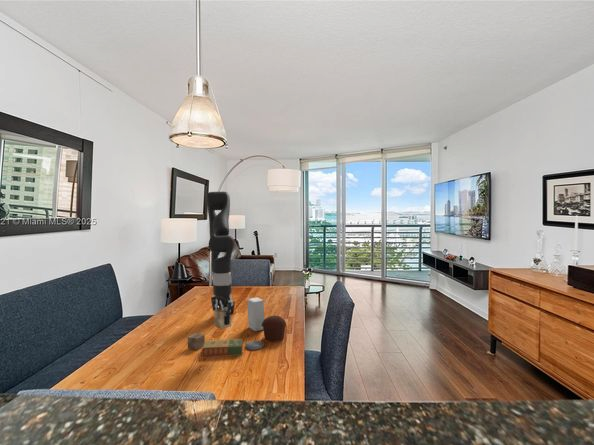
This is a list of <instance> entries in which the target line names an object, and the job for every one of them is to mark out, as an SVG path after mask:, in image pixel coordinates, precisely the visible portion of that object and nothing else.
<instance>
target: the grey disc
mask: <svg viewBox="0 0 594 445" xmlns="http://www.w3.org/2000/svg"><path fill="white" fill-rule="evenodd" d="M264 345H265V344H264V342H263V341H262V340H261V341H260V340H251V341H247V342H246V343H245V348H244V349H246V350H248V351H258V350H262V349H263V348H264Z"/></svg>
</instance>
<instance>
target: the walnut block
mask: <svg viewBox="0 0 594 445" xmlns="http://www.w3.org/2000/svg"><path fill="white" fill-rule="evenodd" d="M205 341H206V339H205V333H196V332H195V333H193V334H191V335H188V336H187V349H189V350H194V351H198V350H200V349H202V348H203V346H204V343H205Z"/></svg>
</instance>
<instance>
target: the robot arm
mask: <svg viewBox="0 0 594 445" xmlns="http://www.w3.org/2000/svg"><path fill="white" fill-rule="evenodd" d="M230 207H231V198H230V194H229V192H227V191H209V192H208V193H206V208H207V213H208V214H207V216H208V221H209V223H208V224H209V225H208V226H209V240H208V244H207V245H208V249H209V251H210V252H211V253H210V254H211V256H210V258H211V273H212V274H213V276H212V288H213V289H212V294H213V296H211V298H210V301H211V308H212V311H213V312H214V310H216V309H220V308H222V311H224V325H228V324H229V323H230V315H231V317H232V316H233V314H234V311H235V304H236V303H235V300H232V255H233V251H234V248H235V238H234V237H233V236H232V235H230V226H229V224H230V223H229V219H230V218H229V217H230V212H231V211H230V210H231V208H230ZM216 211H219V212H218V213H216ZM221 253H225V254H224V255H223V256H221V257H219V256H220V254H221ZM226 310H227V313H226ZM230 310H231V312H230Z"/></svg>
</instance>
